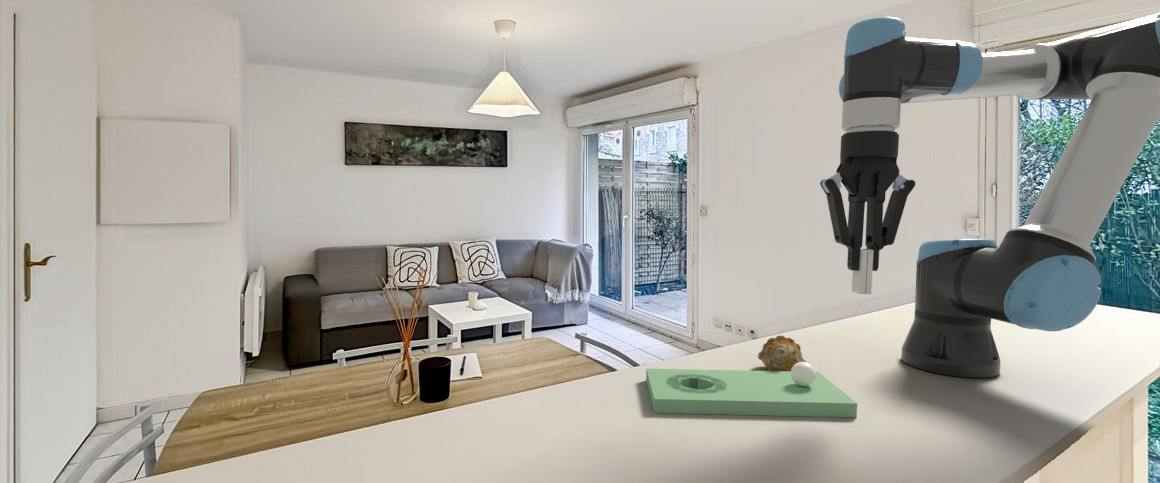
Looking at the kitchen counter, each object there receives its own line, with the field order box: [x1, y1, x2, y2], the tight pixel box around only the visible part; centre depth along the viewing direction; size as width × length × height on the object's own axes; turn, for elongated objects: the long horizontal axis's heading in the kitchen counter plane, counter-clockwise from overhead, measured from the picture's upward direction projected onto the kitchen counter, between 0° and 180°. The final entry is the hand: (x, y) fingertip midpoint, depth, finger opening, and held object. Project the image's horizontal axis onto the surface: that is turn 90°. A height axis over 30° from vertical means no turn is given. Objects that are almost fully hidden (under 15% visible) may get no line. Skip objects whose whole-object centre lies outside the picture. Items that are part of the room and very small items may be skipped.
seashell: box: [757, 334, 808, 371], centre depth 99 cm, size 9×8×10 cm
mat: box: [645, 368, 858, 418], centre depth 86 cm, size 28×14×2 cm, turn 88°
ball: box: [790, 361, 817, 386], centre depth 86 cm, size 4×4×4 cm
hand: (861, 292), depth 85 cm, fingers closed
